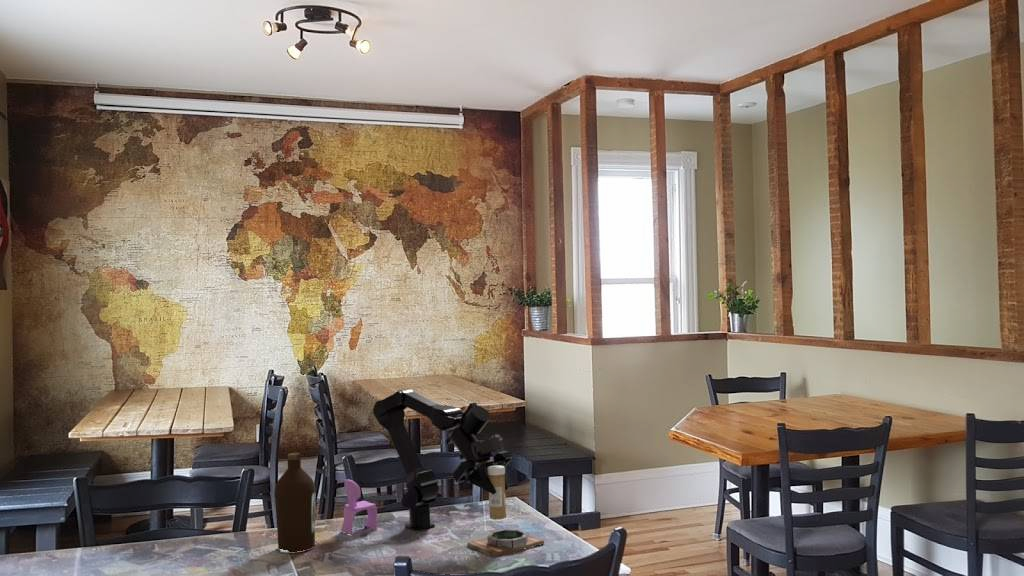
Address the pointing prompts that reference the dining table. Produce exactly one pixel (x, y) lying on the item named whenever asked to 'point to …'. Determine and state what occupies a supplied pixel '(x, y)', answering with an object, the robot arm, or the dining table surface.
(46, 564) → the dining table surface
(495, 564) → the dining table surface
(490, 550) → the wooden base board
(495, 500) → the sprinkles bottle
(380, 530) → the dining table surface
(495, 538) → the ring
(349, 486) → the toy chair
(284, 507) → the olive oil
